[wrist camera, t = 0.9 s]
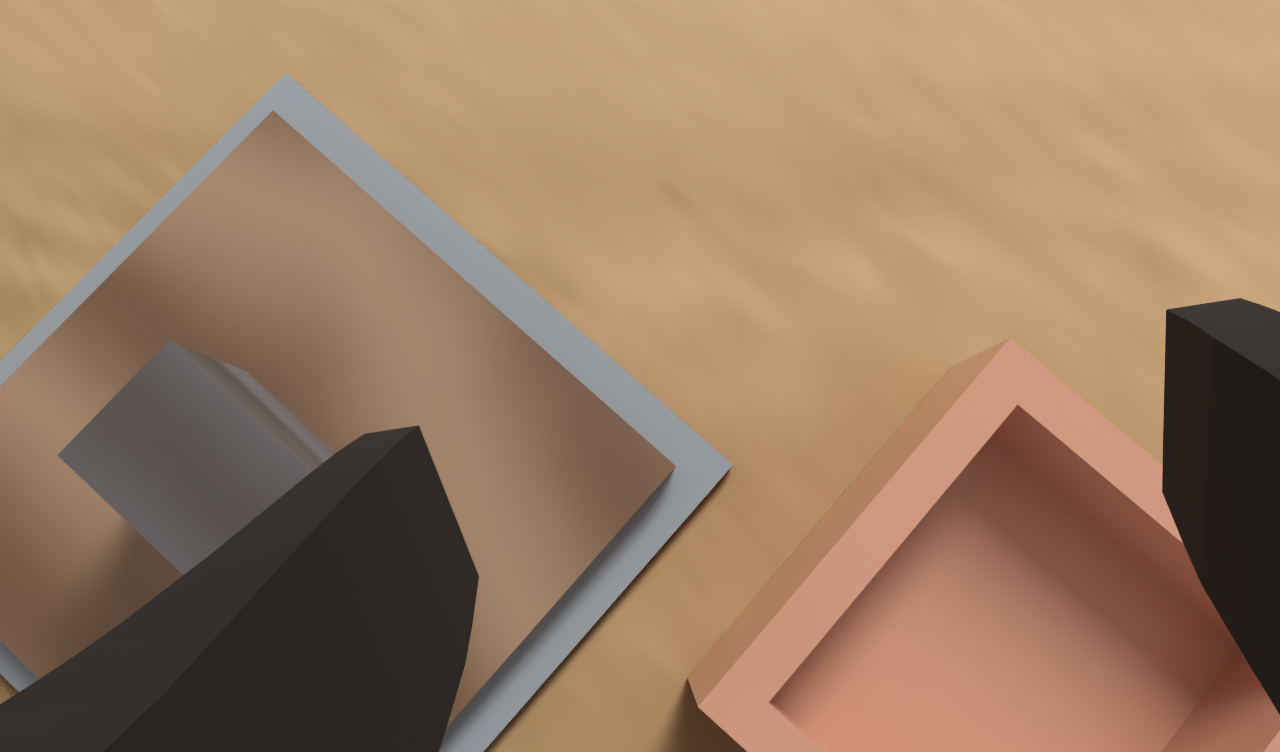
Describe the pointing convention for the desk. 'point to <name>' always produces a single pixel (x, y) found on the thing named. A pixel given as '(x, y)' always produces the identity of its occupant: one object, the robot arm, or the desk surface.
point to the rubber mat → (533, 316)
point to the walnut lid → (290, 410)
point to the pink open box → (991, 597)
